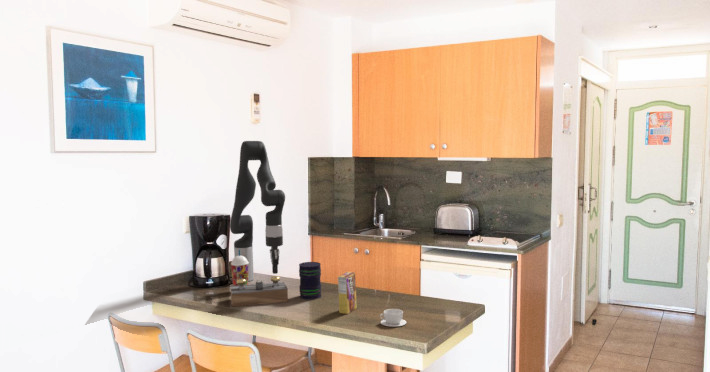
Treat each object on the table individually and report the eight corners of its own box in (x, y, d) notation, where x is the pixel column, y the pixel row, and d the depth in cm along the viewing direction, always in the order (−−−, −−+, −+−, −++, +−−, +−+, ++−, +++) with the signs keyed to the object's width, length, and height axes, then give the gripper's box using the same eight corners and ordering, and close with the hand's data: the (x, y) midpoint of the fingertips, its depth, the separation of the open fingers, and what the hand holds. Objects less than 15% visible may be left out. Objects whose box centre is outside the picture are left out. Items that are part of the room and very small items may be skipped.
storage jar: (323, 293, 263) (322, 261, 262) (319, 299, 253) (319, 266, 252) (301, 293, 264) (301, 261, 263) (297, 299, 254) (296, 266, 253)
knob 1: (237, 299, 254) (236, 278, 253) (246, 298, 255) (245, 278, 254) (237, 301, 250) (236, 281, 249) (246, 301, 251) (246, 280, 250)
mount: (231, 299, 257) (230, 286, 257) (284, 294, 263) (284, 281, 262) (232, 306, 245) (231, 292, 245) (287, 301, 251) (287, 288, 251)
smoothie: (247, 293, 266) (246, 251, 264) (230, 294, 266) (228, 251, 264) (251, 289, 274) (250, 247, 272) (234, 289, 274) (232, 248, 273)
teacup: (404, 319, 224) (404, 307, 224) (407, 327, 214) (407, 315, 214) (379, 319, 224) (379, 308, 224) (381, 328, 214) (381, 315, 214)
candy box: (347, 307, 241) (346, 271, 240) (356, 308, 239) (356, 272, 238) (338, 313, 233) (337, 276, 232) (347, 314, 231) (347, 277, 230)
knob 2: (271, 296, 257) (270, 276, 257) (279, 295, 258) (279, 275, 258) (271, 298, 253) (271, 278, 253) (281, 298, 254) (280, 277, 254)
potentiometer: (255, 288, 251) (255, 279, 251) (262, 288, 252) (262, 279, 252) (256, 290, 248) (255, 281, 248) (263, 289, 249) (262, 280, 249)
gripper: (264, 233, 259) (265, 270, 261) (267, 237, 246) (268, 277, 248) (280, 232, 261) (281, 269, 262) (284, 236, 248) (285, 276, 250)
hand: (275, 273), depth 255 cm, fingers closed
